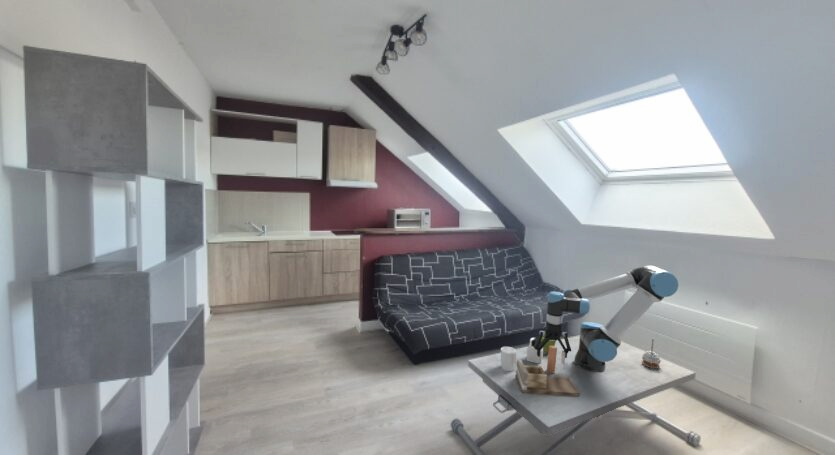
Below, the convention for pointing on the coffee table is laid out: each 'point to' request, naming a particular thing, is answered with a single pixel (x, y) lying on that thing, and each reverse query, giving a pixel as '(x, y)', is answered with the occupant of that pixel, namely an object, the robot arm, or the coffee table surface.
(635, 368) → the coffee table surface
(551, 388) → the board
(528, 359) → the medicine bottle
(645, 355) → the cupcake with stick
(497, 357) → the coffee table surface
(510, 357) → the white cup
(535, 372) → the open wooden box
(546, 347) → the plant pot
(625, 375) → the coffee table surface
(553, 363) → the dowel
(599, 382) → the coffee table surface
